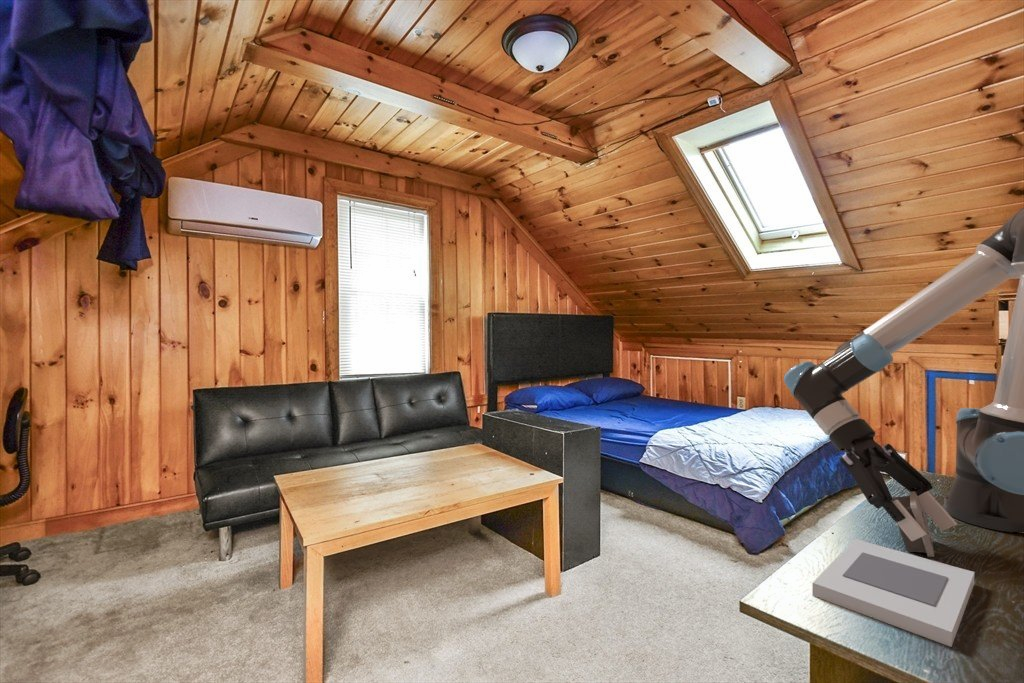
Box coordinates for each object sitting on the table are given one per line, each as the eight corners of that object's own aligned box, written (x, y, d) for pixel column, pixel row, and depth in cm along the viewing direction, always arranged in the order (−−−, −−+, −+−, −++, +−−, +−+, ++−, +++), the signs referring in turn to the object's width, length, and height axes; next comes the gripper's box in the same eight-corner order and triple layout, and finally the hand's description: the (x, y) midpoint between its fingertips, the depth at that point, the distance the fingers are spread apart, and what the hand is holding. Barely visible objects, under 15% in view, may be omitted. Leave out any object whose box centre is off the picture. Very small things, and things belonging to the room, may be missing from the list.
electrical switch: (934, 560, 85) (929, 506, 85) (897, 554, 88) (891, 503, 88) (932, 540, 92) (926, 491, 92) (897, 536, 95) (892, 488, 96)
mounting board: (854, 549, 89) (854, 537, 89) (974, 584, 77) (974, 570, 77) (812, 595, 75) (812, 581, 75) (951, 647, 63) (951, 630, 63)
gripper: (863, 431, 108) (949, 529, 94) (796, 443, 99) (881, 553, 85) (890, 412, 103) (986, 512, 89) (823, 422, 94) (917, 535, 80)
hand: (934, 532), depth 87 cm, fingers closed on electrical switch, 9 cm apart
